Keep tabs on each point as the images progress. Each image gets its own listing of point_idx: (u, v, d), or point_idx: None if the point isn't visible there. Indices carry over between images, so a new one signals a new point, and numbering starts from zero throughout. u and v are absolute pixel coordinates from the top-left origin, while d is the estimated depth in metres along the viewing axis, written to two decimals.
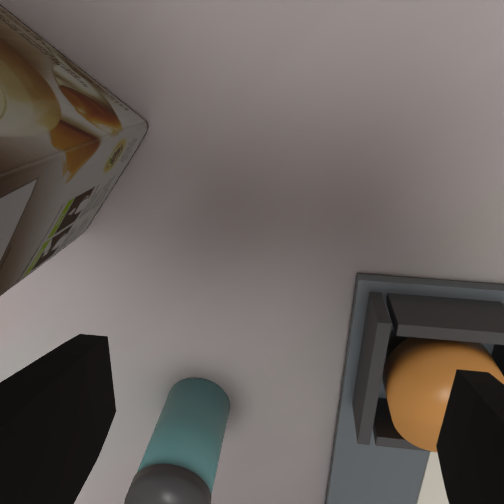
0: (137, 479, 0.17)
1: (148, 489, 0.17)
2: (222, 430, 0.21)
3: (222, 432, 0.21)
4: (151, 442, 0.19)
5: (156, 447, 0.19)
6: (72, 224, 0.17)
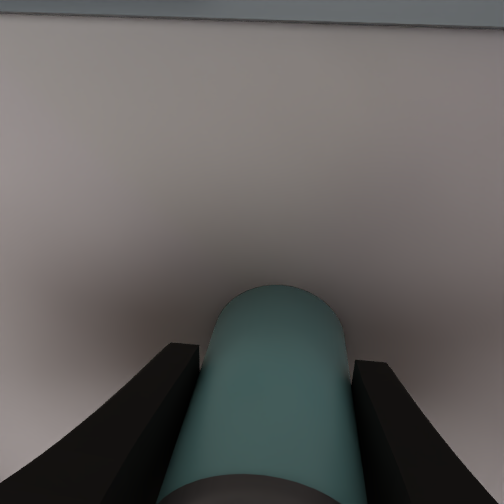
0: None
1: None
2: (259, 333, 0.09)
3: (262, 334, 0.09)
4: None
5: None
6: None
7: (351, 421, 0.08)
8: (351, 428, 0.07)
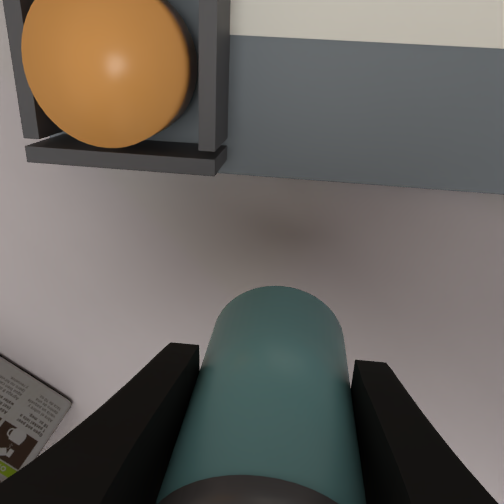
0: None
1: None
2: (259, 333, 0.09)
3: (261, 335, 0.09)
4: None
5: None
6: (4, 421, 0.19)
7: (350, 422, 0.08)
8: (350, 429, 0.07)
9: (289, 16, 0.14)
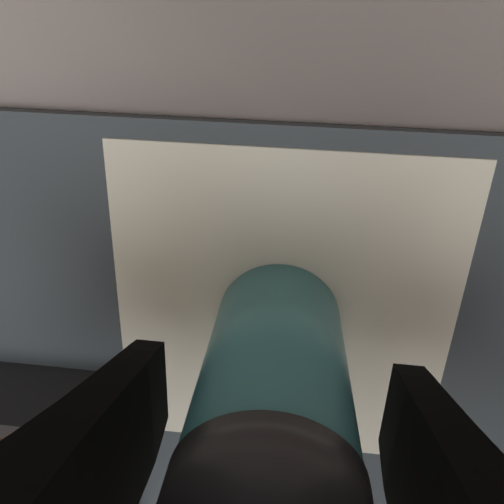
0: None
1: None
2: (264, 303, 0.10)
3: (266, 304, 0.10)
4: None
5: None
6: None
7: (346, 377, 0.09)
8: (346, 382, 0.09)
9: None
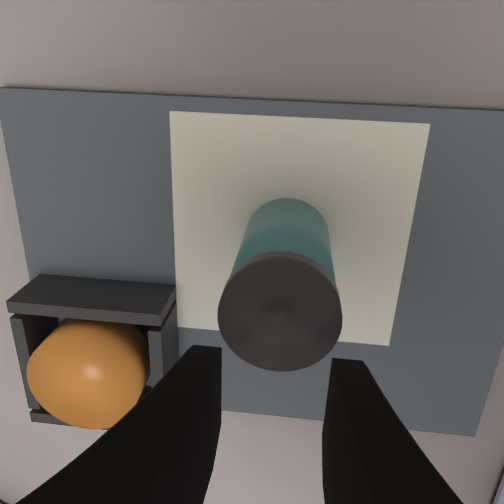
0: None
1: (236, 336, 0.12)
2: (277, 215, 0.15)
3: (279, 215, 0.15)
4: None
5: None
6: None
7: (329, 254, 0.14)
8: (329, 256, 0.14)
9: None
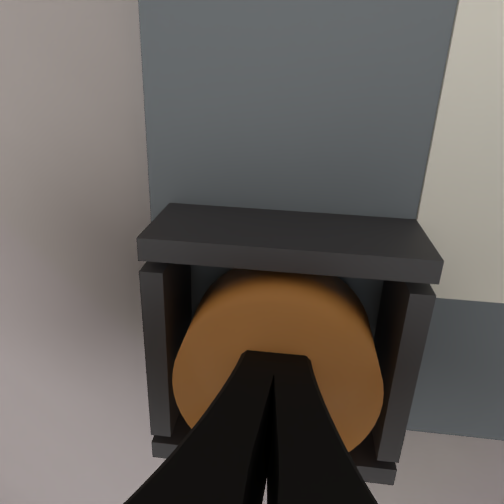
0: None
1: None
2: None
3: None
4: None
5: None
6: None
7: None
8: None
9: (482, 278, 0.11)
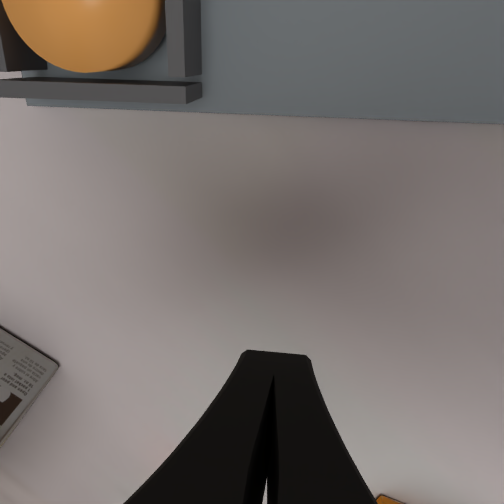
0: None
1: None
2: None
3: None
4: None
5: None
6: None
7: None
8: None
9: None
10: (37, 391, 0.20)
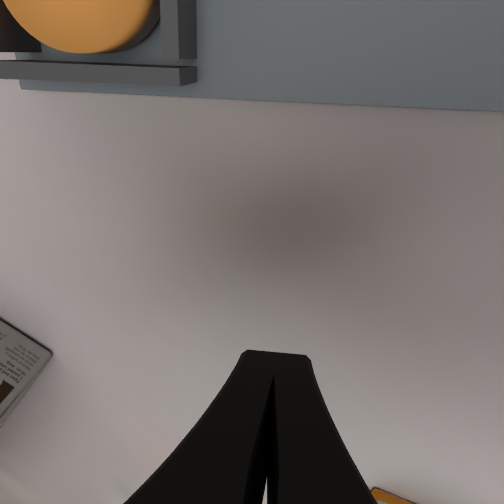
0: None
1: None
2: None
3: None
4: None
5: None
6: None
7: None
8: None
9: None
10: (30, 379, 0.20)
